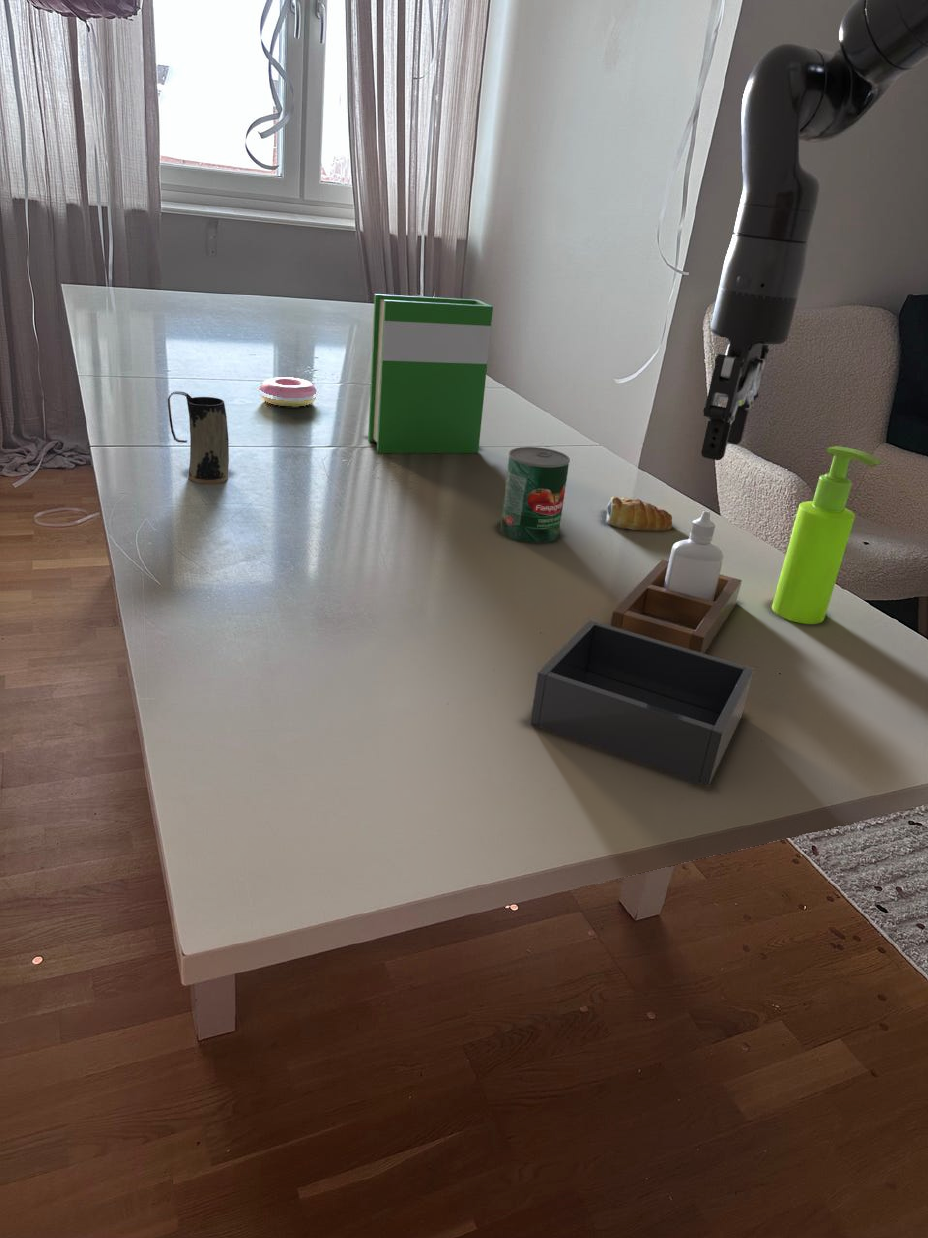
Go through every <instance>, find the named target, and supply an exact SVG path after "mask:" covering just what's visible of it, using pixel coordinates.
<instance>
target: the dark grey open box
mask: <svg viewBox="0 0 928 1238" xmlns="http://www.w3.org/2000/svg"><path fill="white" fill-rule="evenodd" d="M754 672H755V669H754V668H753V667H750V666H745V665H743V664H740V663H737V662H733V661H731V660H727V659H724V658H719V657H716V656H713V655H709V654H707V653H704V654H703V653H700V652H697V651H693V650H690V649H686V648H683V647H680V646H676V645H673V644H670V643H666V642H663V641H660V640H656V639H653V638H650V637H646V636H643V635H640V634H636V633H633V632H629V631H626V630H623V629H619V628H616V627H613V626H610V624H606V623H603V622H600V621H599V622H598V621H596V620H592V619H589V620H588V621H587V622H586V623H585V624H584V625H583V626H582V627H581V628H580V629H579V630H578V631H577V632H576V633H575V634H574V635H573V636H572V637H571V638H570V639H569V640H568V641H567V642H566V643H565V644H564V645H563V646H562V647H561V648H560V649H559V651H557V653H555V655H554V656H552V658H550V660H548V661H547V662H546V664H545V665H544V666H542V668H541V669H540V670H539V671H538V672H537V676H536V681H535V689H534V695H533V702H532V708H531V716H530V722H529V724H530V725H533V726H536V727H539V728H541V729H544V730H546V731H550V732H553V733H555V734H558V735H561V736H563V737H567V738H569V739H572V740H575V741H578V742H581V743H583V744H586V745H589V746H592V747H595V748H597V749H601V750H603V751H606V752H608V753H612V754H615V755H618V756H620V757H623V758H625V759H628V760H632V761H634V762H637V763H640V764H642V765H645V766H648V767H651V768H654V769H657V770H659V771H662V772H665V773H668V774H670V775H674V776H677V777H679V778H682V779H685V780H688V781H690V782H693V783H696V784H699V785H701V786H704V787H707V788H708V787H709V786H710V784H711V782H712V780H713V778H714V776H715V774H716V771H717V769H718V768H719V765H720V763H721V761H722V759H723V757H724V755H725V752H726V750H727V749H728V746H729V744H730V742H731V740H732V738H733V736H734V734H735V731H736V729H737V727H738V725H739V723H740V721H741V719H742V716H743V713H744V709H745V705H746V701H747V698H748V695H749V691H750V687H751V683H752V679H753V675H754Z"/></svg>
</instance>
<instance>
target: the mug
mask: <svg viewBox="0 0 928 1238" xmlns="http://www.w3.org/2000/svg"><path fill="white" fill-rule="evenodd" d="M173 395H180V396H181V395H182V396H184V397H185V398H186V405H187V410H188V411H187V412H188V418H189V419H188V420H189V421H188V422H189V436H190V437H189V440H190V441H189V442H190V447H189V467H188V479H189V481H191V482H194V483H198V484H206V485H211V484H221V483H224V482H226V481H228V480H229V466H230V465H229V464H230V449H229V448H230V443H229V430H228V429H229V428H228V427H229V426H228V417H227V411H226V405H225V400H223V399H222V398H218V397H213V396H212V397H211V396H194V397H192V396H191V395H190V394H189V393H187V392H185V391H181V390H180V391H179V390H178V391H175V390H174V391H173V392H171V393H170V395H169V396H168V398H167V409H168V419H169V425H170V432H171V434H172V437H173V438H172V439H173V440H174V441H175V442H177V443H183V444H184V443H185V444H187V442H188V440H186V439H179V438H177V436H176V433H175V430H174V425H173V417H172V407H171V397H172V396H173Z"/></svg>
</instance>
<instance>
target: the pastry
mask: <svg viewBox="0 0 928 1238" xmlns="http://www.w3.org/2000/svg"><path fill="white" fill-rule="evenodd" d="M605 516H606V519H605V521H606V523H607V524H608V525H609V526H612V527H615V528H619V529H623V530H625V529H627V530H630V531H659V532H660V531H666V530H671V529H672V527H673V516H672V514H670V513H669V512H668V511H667V510H666V509H663V508H658V507H657V506H656V505H654V504H652V503H648V502H646V501H642V500H641V499H639V498H633V499H632V498H629V497H626V496H625V497H623V496H622V497H621V498H619V497H617V496H611V497H610V500H609V501H608V503H607V506H606V515H605Z"/></svg>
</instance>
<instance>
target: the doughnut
mask: <svg viewBox="0 0 928 1238" xmlns="http://www.w3.org/2000/svg"><path fill="white" fill-rule="evenodd" d="M259 390H261V391H262V392H264V393H266V394H269V395H273V396H277V397H282V398H305V397H310V396H313V395H314V394H316V392H317V393H318V391H317V390H318V388H316V387H315V385H314V384H313V382H310V381H308V380H307V379H301V378H294V377H285V376H281V377H273V378H267V379H266V380H264V381H262V382H260V385H259ZM260 398H261V399H262V400H263V401H264V402H265V401H266V402H265V403H267V402H268V403H267V404H269V403H271V404H274V405H273V406H275V405H280V406H292V407H291V408H300V407H299V406H304V407H307V406H306V405H308V406H310V405H312V404H313V403H314V402H315V401H316V399H317V396H316V397H315V398H313V399H310V400H304V401H284V400H276V399H271V398H267V397H264V396H262V395H261V393H260ZM311 403H312V404H311ZM271 404H270V405H271ZM309 404H310V405H309ZM280 406H279V407H280Z"/></svg>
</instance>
